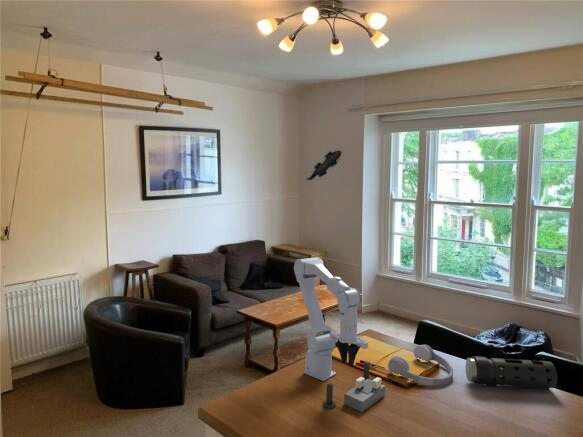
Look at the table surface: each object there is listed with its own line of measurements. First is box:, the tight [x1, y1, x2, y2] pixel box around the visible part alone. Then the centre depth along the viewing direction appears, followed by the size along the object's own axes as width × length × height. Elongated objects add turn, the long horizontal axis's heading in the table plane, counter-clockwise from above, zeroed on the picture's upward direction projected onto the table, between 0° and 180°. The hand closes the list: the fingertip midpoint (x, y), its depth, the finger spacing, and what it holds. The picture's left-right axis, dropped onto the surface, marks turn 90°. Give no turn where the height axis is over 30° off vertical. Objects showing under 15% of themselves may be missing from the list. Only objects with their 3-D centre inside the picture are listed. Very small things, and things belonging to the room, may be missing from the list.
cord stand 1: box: [322, 383, 336, 410], centre depth 141 cm, size 4×4×7 cm
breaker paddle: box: [355, 376, 365, 389], centre depth 146 cm, size 2×3×2 cm, turn 138°
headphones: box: [387, 344, 454, 387], centre depth 164 cm, size 22×7×20 cm
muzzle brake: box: [465, 355, 558, 391], centre depth 155 cm, size 10×28×10 cm, turn 84°
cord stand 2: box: [362, 361, 373, 381], centre depth 157 cm, size 4×4×7 cm
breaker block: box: [343, 376, 386, 413], centre depth 145 cm, size 7×14×6 cm, turn 138°
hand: (347, 363), depth 149 cm, fingers open, 2 cm apart
